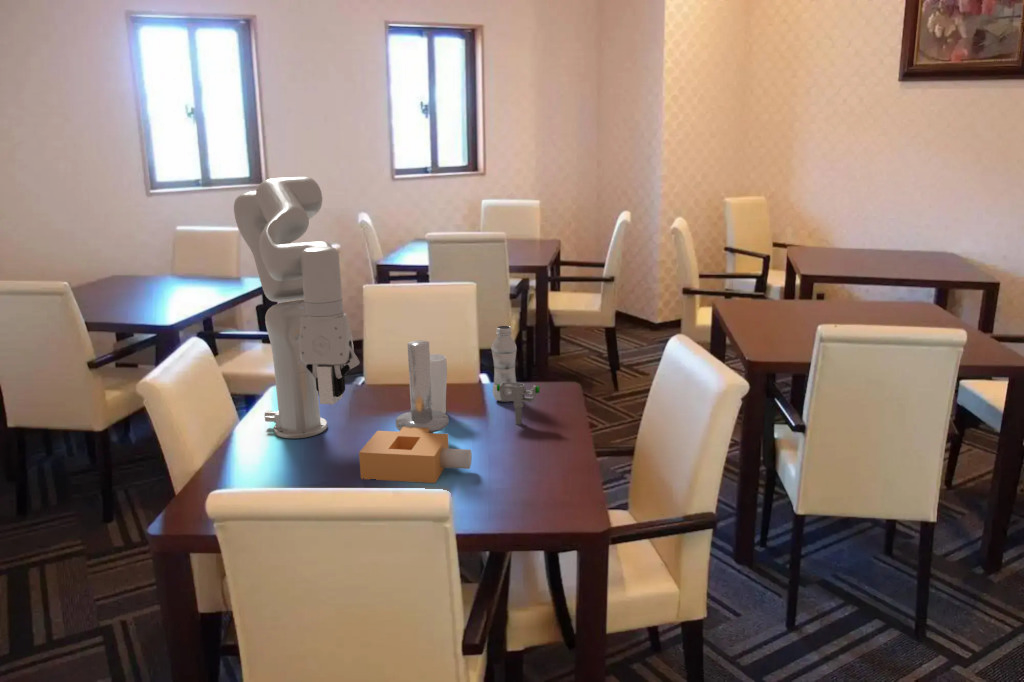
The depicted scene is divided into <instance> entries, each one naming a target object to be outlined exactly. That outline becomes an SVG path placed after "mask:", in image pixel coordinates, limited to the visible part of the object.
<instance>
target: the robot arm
mask: <svg viewBox="0 0 1024 682" xmlns="http://www.w3.org/2000/svg"><path fill="white" fill-rule="evenodd" d="M322 205H323V195H322V191H321V187H320V186H319V184H318V183H317V182H316V180H315V179H313V178H312V177H309V176H293V177H291V176H290V177H275V178H268V179H266V180H263V181H262V182H260V183H259V184H258V186H257V187H256V189H255V190H253V191H247V192H244V193H242V194H240V195H238V196H237V197H236V199H235V200H234V203H233V214H234V219H235V223H236V225H237V228H238V230H239V233H240V235H241V237H242V239H243V240H244V242H245V244H246V245H247V246H248V248H249V249H250V251H251V253H252V256H253V258H254V261H255V263H254V264H255V266H256V270H257V274H258V276H259V277H258V278H259V280H260V284H261V288H262V290H263V293H264V295H265V297H266V298H267V299H268V300H269V301H271V302H276V304H274V305H272V306H271V307H269V308H268V309H267V311H266V313H265V316H264V319H265V321H264V322H265V327H266V328H265V329H266V332H267V335H268V339H269V341H270V342H269V343H270V348H271V353H272V354H271V355H272V360H273V361H272V362H273V368H274V369H273V371H274V379H275V381H274V382H275V388H276V389H275V390H276V398H277V399H276V400H277V407H278V408H277V411H273V410H266V411H265V412H264V421H265V422H267V423H268V422H269V423H271V422H274V423H275V425H274V426H273V433H274V435H276V436H278V437H279V438H284V439H304V438H309V437H314V436H316V435H318V434H321V433H323V432H324V431H326V430H327V428H328V421H327V420H326V418H323V417H321V413H320V399H319V388H318V377H317V366H318V365H334V368H335V374H336V378H335V379H334V388H335V396H336V397H339V396H341V395H342V394H343V395H344V393H345V391H346V380H345V375H347V373H348V372H349V371H350V370H351V369H354V368H356V367H357V366H359V365H360V360H359V357H358V356H357V355H356V353H355V350H354V349H355V348H354V343H353V341H354V340H353V334H352V329H351V325H350V322H349V317H348V314H347V313H346V312H345V313H344V304H343V303H344V302H343V291H342V279H341V277H342V276H341V266H340V265H341V264H340V255H339V252H338V251H339V250H337V249H336V248H335V247H333V246H332V245H331V244H330V243H329V242H327V241H323V240H320V241H317V240H316V241H308V242H305V241H303V242H296V241H297V240H298V239H300V238H301V237H302V236H304V235H305V234H306V232H307V231H308V229H309V224H310V220H311V219H312V218H313V217H315V216H316V215H317V214H318V213H319V212H320V210H321V208H322ZM294 241H295V242H294ZM348 361H349V362H348Z"/></svg>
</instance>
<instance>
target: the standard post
mask: <svg viewBox="0 0 1024 682" xmlns="http://www.w3.org/2000/svg"><path fill="white" fill-rule="evenodd" d="M430 354H431V353H430V341H428V340H413V341H409V342H408V343H407V359H408V375H409V376H408V377H409V378H408V379H409V380H408V381H409V382H408V383H409V396H410V398H409V399H410V411H408V412H405V413H402V414H399V416H397V418H395V427H396V429H397V430H398V431H400V430H401V429H402V428H403V427H406V428H409V427H411V428H412V427H413V428H414V427H415V428H416V429H417V427H418V428H419V427H420V428H421V427H422V428H429V433H436V432H437V433H438V432H439V431H442V430H444V429H445V428H447V427H448V426H449V422H450V421H449V416H448V415H447V414H446V412H445V413H443V412H439V411H434V410H432V394H431V372H430Z"/></svg>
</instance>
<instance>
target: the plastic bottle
mask: <svg viewBox="0 0 1024 682" xmlns="http://www.w3.org/2000/svg"><path fill="white" fill-rule="evenodd" d="M495 335H496V337H495V339H494V340H493V342H492V343H491V347H490V348H491V354H492V359H493V367H494V368H493V370H494V372H493V373H494V374H493V384H492V385H493V386H492V395H493V397H494V399H495V400H496V401H497V402H503V403H508V402H510V401H504V400H502V399H501V397H500V391H497V385H500V384H501V383H502V382H506V383H517V377H516V356H517V344H516V342H515V340H514V339H513V337H512V336H511V335H512V327H511V326H510V325H499V326H496V334H495ZM507 392H509V393H511V390H509V389H507Z"/></svg>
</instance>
